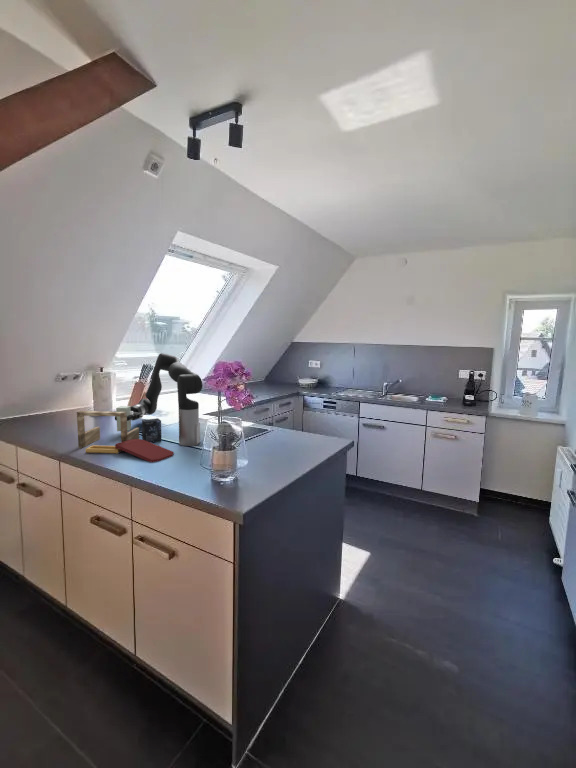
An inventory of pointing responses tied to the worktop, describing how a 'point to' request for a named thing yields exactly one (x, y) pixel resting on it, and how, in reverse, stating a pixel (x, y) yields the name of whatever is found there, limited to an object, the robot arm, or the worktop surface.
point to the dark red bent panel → (144, 450)
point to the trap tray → (102, 449)
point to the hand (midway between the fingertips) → (121, 418)
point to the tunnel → (94, 433)
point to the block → (120, 409)
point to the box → (151, 430)
